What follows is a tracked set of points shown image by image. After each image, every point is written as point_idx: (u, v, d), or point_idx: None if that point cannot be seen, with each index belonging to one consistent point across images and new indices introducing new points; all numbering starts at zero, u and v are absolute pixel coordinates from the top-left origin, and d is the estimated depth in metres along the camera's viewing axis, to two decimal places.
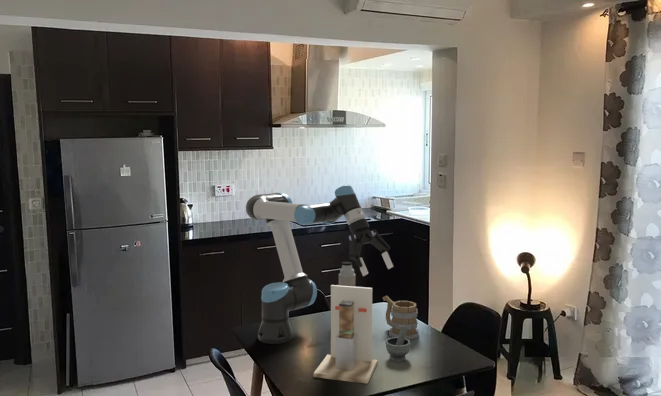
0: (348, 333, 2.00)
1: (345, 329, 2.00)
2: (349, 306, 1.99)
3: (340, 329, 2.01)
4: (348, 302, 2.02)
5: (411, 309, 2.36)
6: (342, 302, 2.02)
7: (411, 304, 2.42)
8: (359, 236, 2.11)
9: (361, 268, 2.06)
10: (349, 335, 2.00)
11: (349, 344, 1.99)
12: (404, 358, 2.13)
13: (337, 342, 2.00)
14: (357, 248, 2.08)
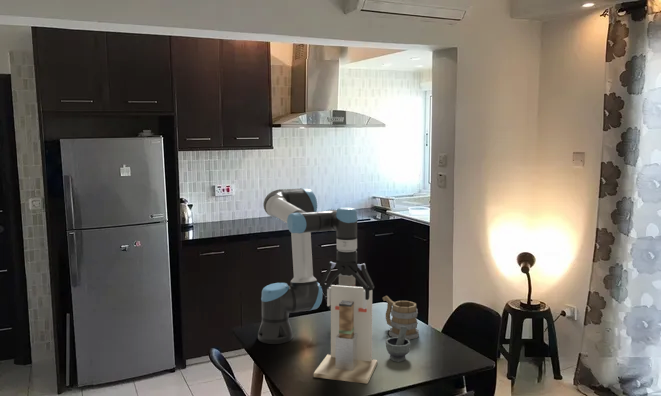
0: (348, 333, 2.00)
1: (345, 329, 2.00)
2: (349, 306, 1.99)
3: (340, 329, 2.01)
4: (348, 302, 2.02)
5: (411, 309, 2.36)
6: (342, 302, 2.02)
7: (411, 304, 2.42)
8: (338, 267, 2.00)
9: None
10: (349, 335, 2.00)
11: (349, 344, 1.99)
12: (404, 358, 2.13)
13: (337, 342, 2.00)
14: None
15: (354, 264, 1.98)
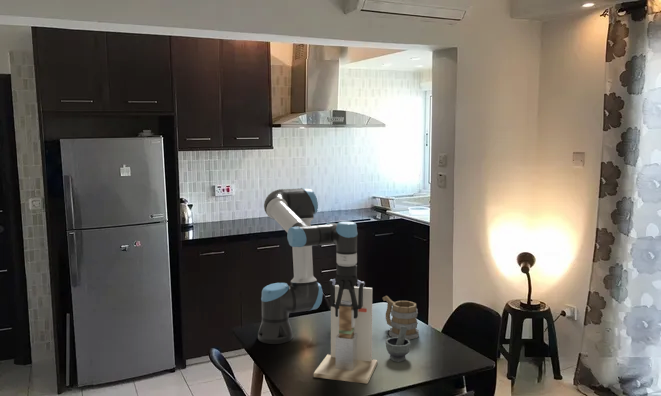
0: (348, 333, 2.00)
1: (345, 329, 2.00)
2: (349, 306, 1.99)
3: (340, 329, 2.01)
4: (348, 302, 2.02)
5: (411, 309, 2.36)
6: (342, 302, 2.02)
7: (411, 304, 2.42)
8: (338, 281, 2.00)
9: None
10: (349, 335, 2.00)
11: (349, 344, 1.99)
12: (404, 358, 2.13)
13: (337, 342, 2.00)
14: (338, 296, 2.02)
15: (355, 279, 1.98)
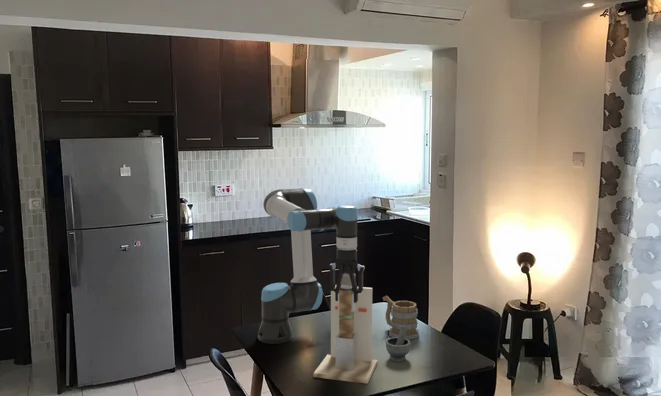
0: (348, 317, 1.99)
1: (345, 313, 2.00)
2: (349, 290, 1.98)
3: (340, 313, 2.00)
4: (348, 286, 2.01)
5: (411, 309, 2.36)
6: (342, 286, 2.01)
7: (411, 304, 2.42)
8: (338, 265, 2.00)
9: None
10: (349, 319, 1.99)
11: (349, 344, 1.99)
12: (404, 358, 2.13)
13: (337, 342, 2.00)
14: (338, 280, 2.01)
15: (355, 263, 1.98)
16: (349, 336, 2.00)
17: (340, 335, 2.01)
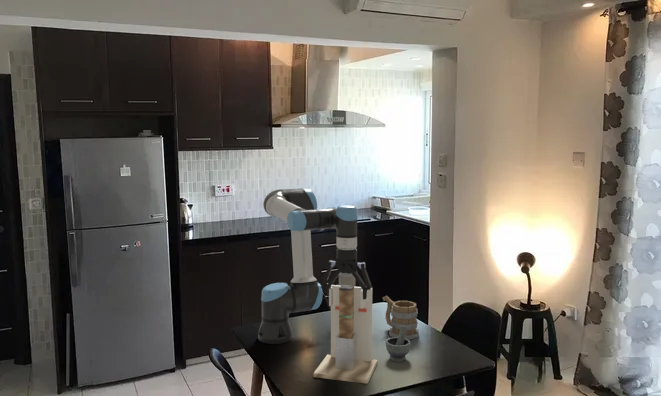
0: (348, 317, 1.99)
1: (345, 313, 2.00)
2: (349, 290, 1.98)
3: (340, 313, 2.00)
4: (348, 286, 2.01)
5: (411, 309, 2.36)
6: (342, 286, 2.01)
7: (411, 304, 2.42)
8: (338, 265, 2.00)
9: None
10: (349, 319, 1.99)
11: (349, 344, 1.99)
12: (404, 358, 2.13)
13: (337, 342, 2.00)
14: None
15: (354, 262, 1.98)
16: (349, 336, 2.00)
17: (340, 335, 2.01)
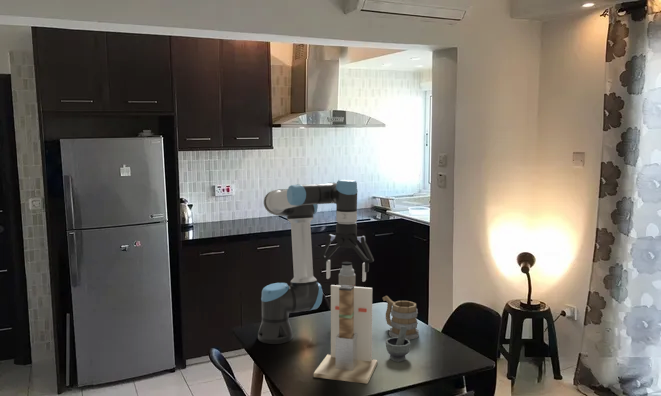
0: (348, 317, 1.99)
1: (345, 313, 2.00)
2: (349, 290, 1.98)
3: (340, 313, 2.00)
4: (348, 286, 2.01)
5: (411, 309, 2.36)
6: (342, 286, 2.01)
7: (411, 304, 2.42)
8: (337, 239, 1.99)
9: None
10: (349, 319, 1.99)
11: (349, 344, 1.99)
12: (404, 358, 2.13)
13: (337, 342, 2.00)
14: (331, 250, 2.01)
15: (354, 236, 1.97)
16: (349, 336, 2.00)
17: (340, 335, 2.01)
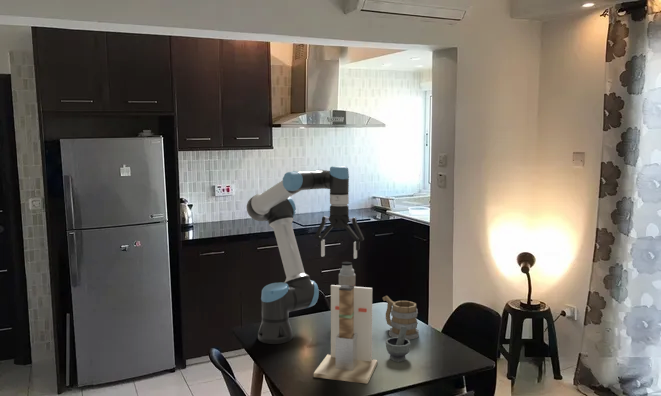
0: (348, 317, 1.99)
1: (345, 313, 2.00)
2: (349, 290, 1.98)
3: (340, 313, 2.00)
4: (348, 286, 2.01)
5: (411, 309, 2.36)
6: (342, 286, 2.01)
7: (411, 304, 2.42)
8: (331, 220, 2.19)
9: None
10: (349, 319, 1.99)
11: (349, 344, 1.99)
12: (404, 358, 2.13)
13: (337, 342, 2.00)
14: None
15: (346, 217, 2.17)
16: (349, 336, 2.00)
17: (340, 335, 2.01)
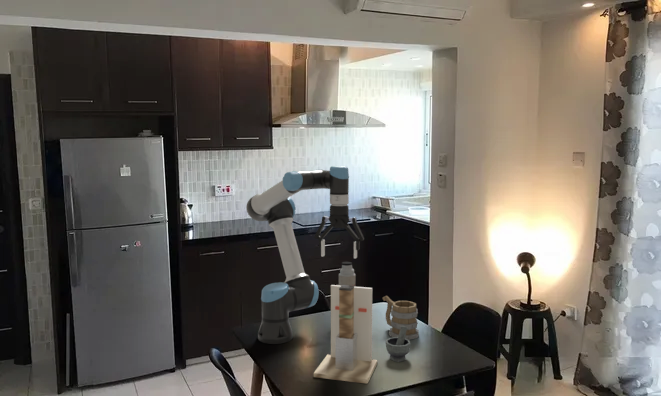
0: (348, 317, 1.99)
1: (345, 313, 2.00)
2: (349, 290, 1.98)
3: (340, 313, 2.00)
4: (348, 286, 2.01)
5: (411, 309, 2.36)
6: (342, 286, 2.01)
7: (411, 304, 2.42)
8: (331, 220, 2.19)
9: None
10: (349, 319, 1.99)
11: (349, 344, 1.99)
12: (404, 358, 2.13)
13: (337, 342, 2.00)
14: None
15: (346, 217, 2.17)
16: (349, 336, 2.00)
17: (340, 335, 2.01)
